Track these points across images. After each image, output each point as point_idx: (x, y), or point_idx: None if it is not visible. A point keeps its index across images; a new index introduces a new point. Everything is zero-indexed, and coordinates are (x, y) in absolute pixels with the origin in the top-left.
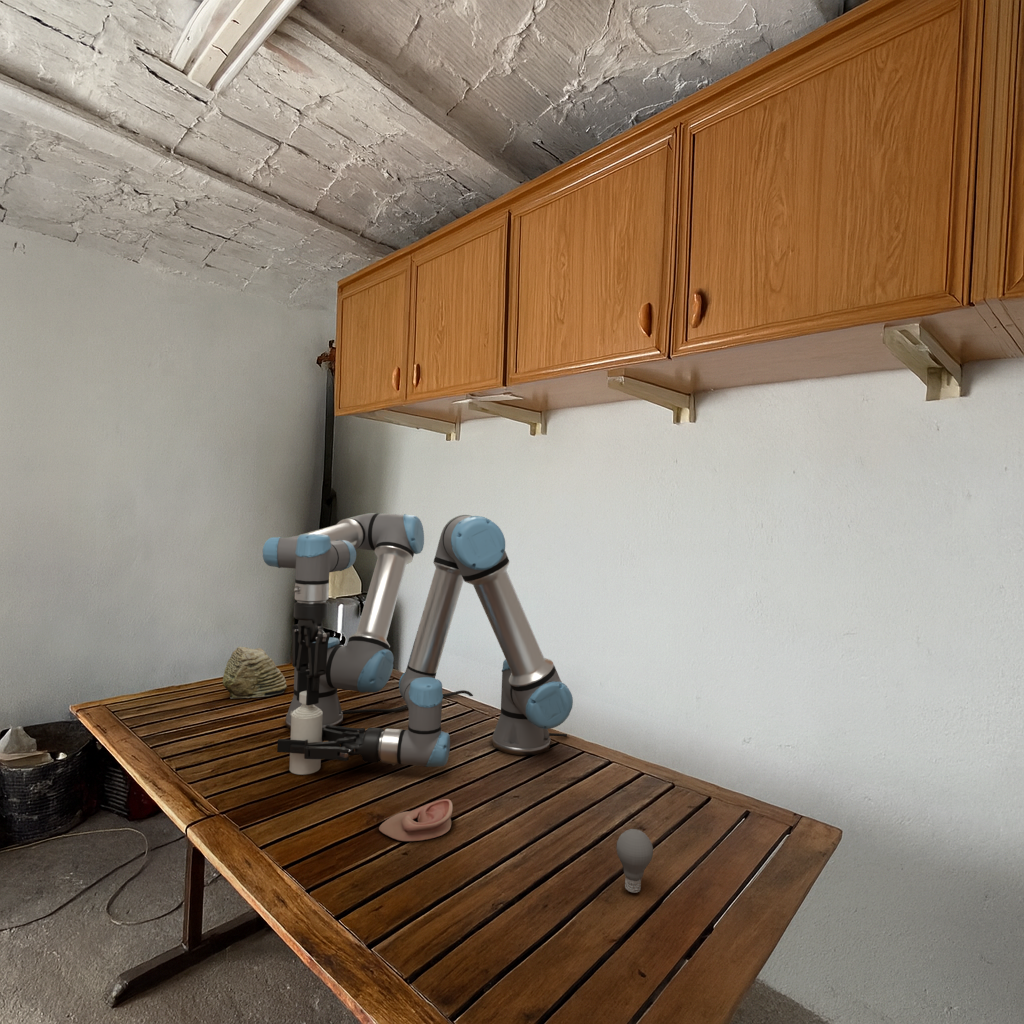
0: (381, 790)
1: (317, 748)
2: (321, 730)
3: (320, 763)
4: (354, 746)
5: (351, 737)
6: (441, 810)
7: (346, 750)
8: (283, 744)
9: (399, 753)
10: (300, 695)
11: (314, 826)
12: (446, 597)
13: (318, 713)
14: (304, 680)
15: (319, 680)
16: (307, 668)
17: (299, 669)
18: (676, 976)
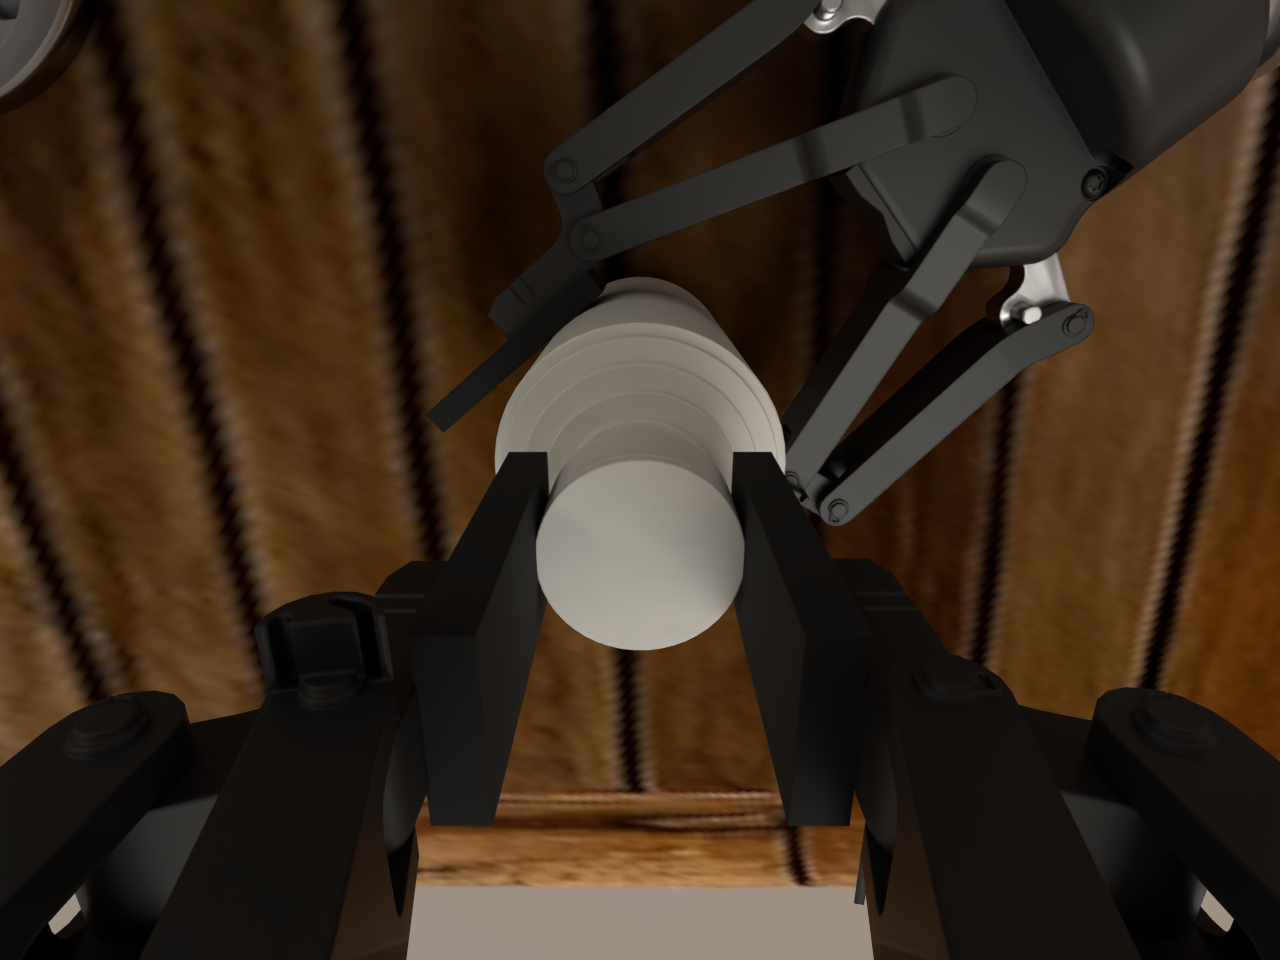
0: (1192, 184)
1: (905, 470)
2: (727, 339)
3: (699, 301)
4: (1067, 235)
5: (991, 198)
6: None
7: (1086, 332)
8: None
9: None
10: (640, 643)
11: (1173, 609)
12: None
13: (765, 422)
14: (515, 641)
15: (942, 644)
16: (392, 684)
17: (413, 842)
18: None
